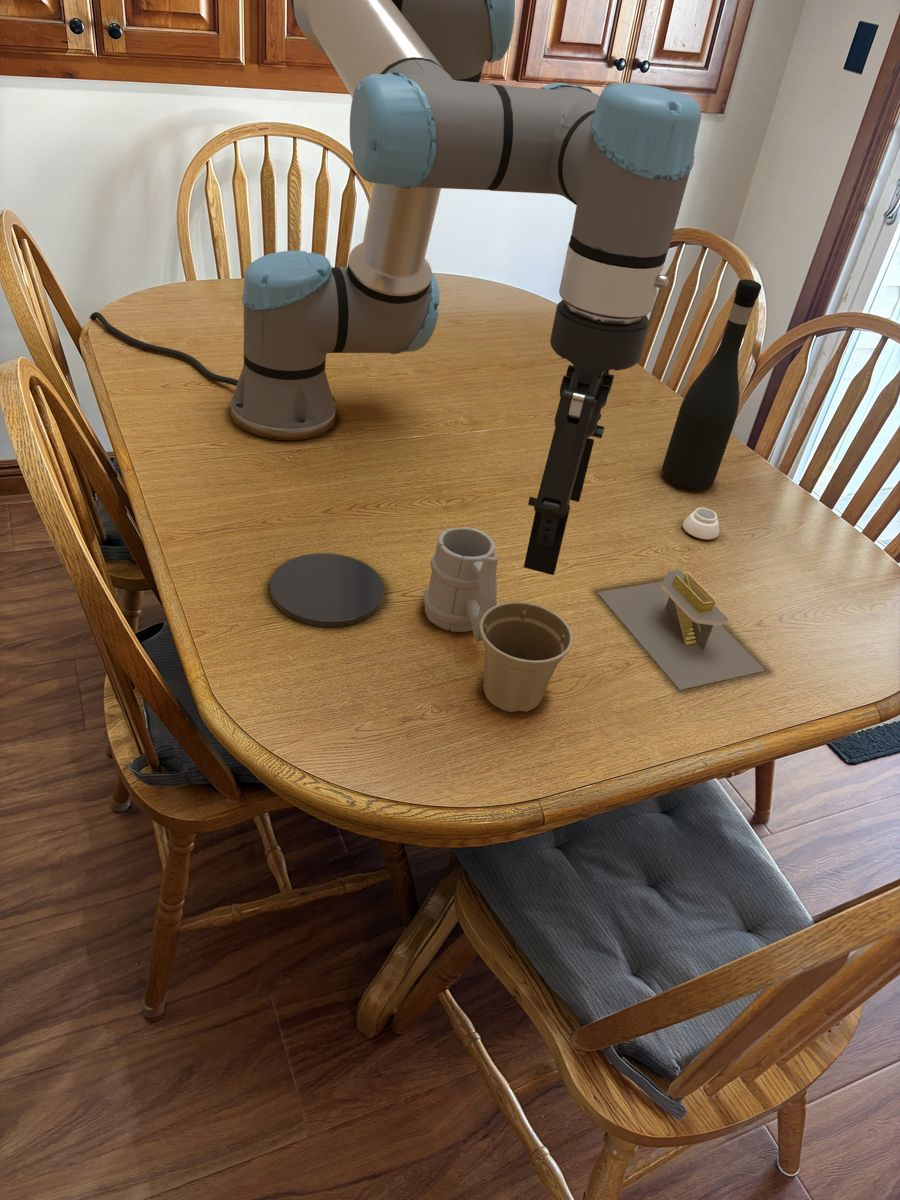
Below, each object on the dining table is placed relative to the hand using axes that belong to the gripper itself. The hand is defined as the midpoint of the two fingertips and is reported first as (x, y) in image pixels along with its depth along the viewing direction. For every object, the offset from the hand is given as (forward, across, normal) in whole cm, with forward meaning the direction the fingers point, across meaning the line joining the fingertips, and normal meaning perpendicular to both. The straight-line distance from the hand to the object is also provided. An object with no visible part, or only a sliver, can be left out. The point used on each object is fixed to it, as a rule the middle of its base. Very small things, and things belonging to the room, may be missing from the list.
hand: (553, 531), depth 87 cm
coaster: (+20, +7, +24) cm, 32 cm away
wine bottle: (+20, +56, -14) cm, 61 cm away
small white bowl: (+20, +42, -17) cm, 49 cm away
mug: (+20, +8, +8) cm, 23 cm away
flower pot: (+20, -1, 0) cm, 20 cm away
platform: (+20, +18, -16) cm, 31 cm away
